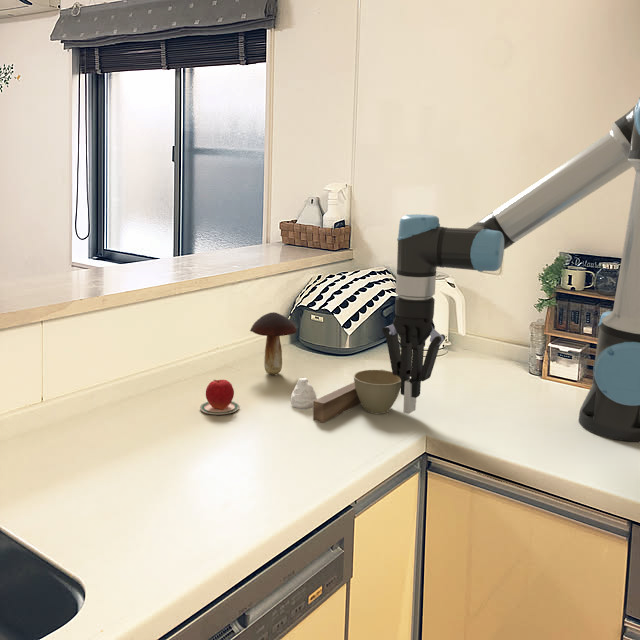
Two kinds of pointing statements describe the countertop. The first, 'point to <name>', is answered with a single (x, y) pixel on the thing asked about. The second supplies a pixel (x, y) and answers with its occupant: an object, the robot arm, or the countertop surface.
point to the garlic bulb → (303, 395)
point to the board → (335, 403)
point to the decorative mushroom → (273, 338)
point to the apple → (219, 398)
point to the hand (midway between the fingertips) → (409, 411)
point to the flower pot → (377, 389)
